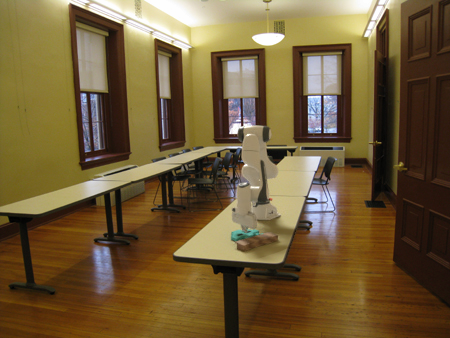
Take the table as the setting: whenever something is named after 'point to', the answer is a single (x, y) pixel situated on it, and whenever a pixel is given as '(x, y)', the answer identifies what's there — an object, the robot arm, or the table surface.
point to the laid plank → (256, 241)
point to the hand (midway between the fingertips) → (244, 232)
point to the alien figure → (243, 234)
